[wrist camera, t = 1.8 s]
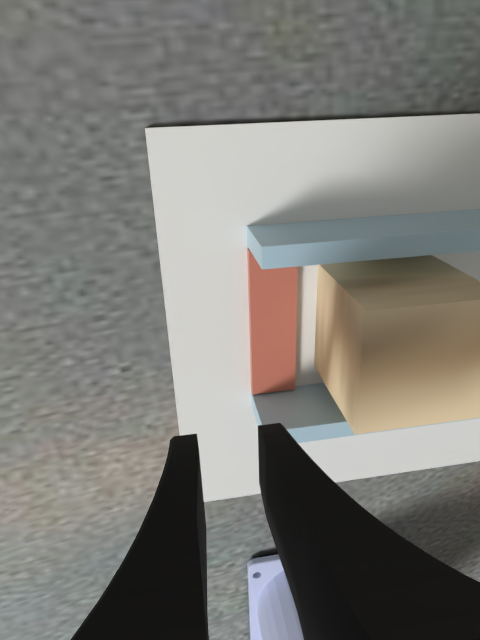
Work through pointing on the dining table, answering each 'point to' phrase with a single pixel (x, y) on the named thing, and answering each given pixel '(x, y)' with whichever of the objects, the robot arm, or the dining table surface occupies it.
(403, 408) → the maple block
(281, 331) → the trough
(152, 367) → the dining table surface
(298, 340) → the white mat
